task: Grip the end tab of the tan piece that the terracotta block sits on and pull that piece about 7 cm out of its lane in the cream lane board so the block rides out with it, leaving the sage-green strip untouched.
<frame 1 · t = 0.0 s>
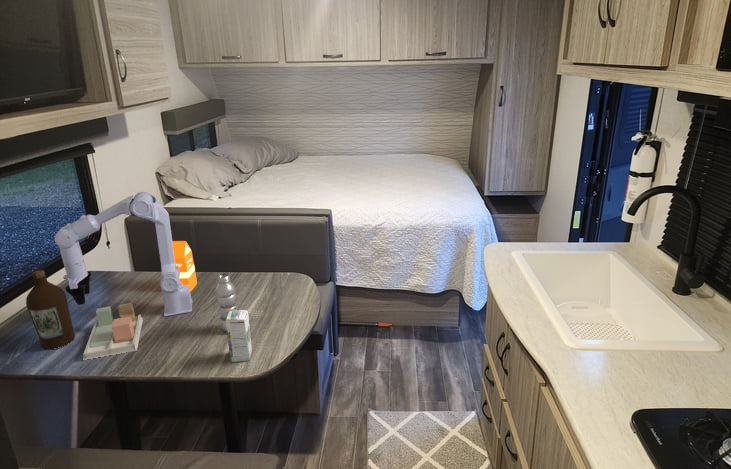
hand: (83, 298, 161), 10 cm above the table, tool pointing down, fingers open, 7 cm apart
syrup box: (242, 356, 145), on the table
lane board: (115, 338, 156), on the table
strip B: (102, 326, 155), point 4 cm above the table, slide at 0.0 cm
plastic bottle: (231, 329, 159), on the table
block: (124, 335, 154), point 2 cm above the table, touching tan piece
orange juice: (183, 288, 189), on the table
tan piece: (124, 322, 157), point 4 cm above the table, slide at 0.0 cm, touching block
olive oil: (58, 342, 155), on the table
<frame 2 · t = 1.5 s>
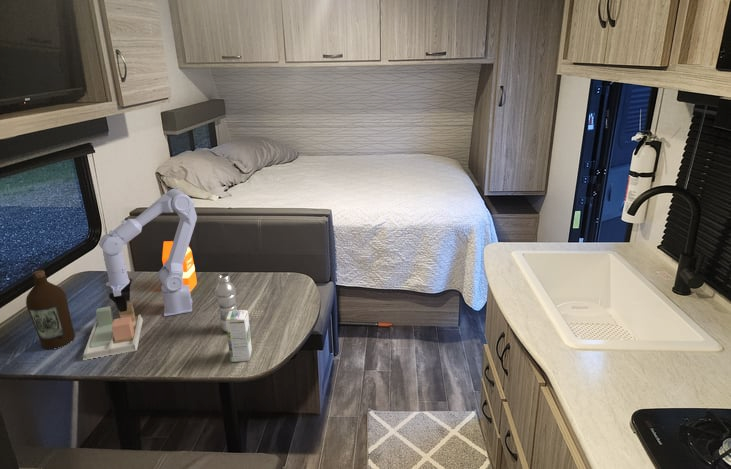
hand: (124, 305, 161), 7 cm above the table, tool pointing down, fingers open, 7 cm apart
nothing on the table moved.
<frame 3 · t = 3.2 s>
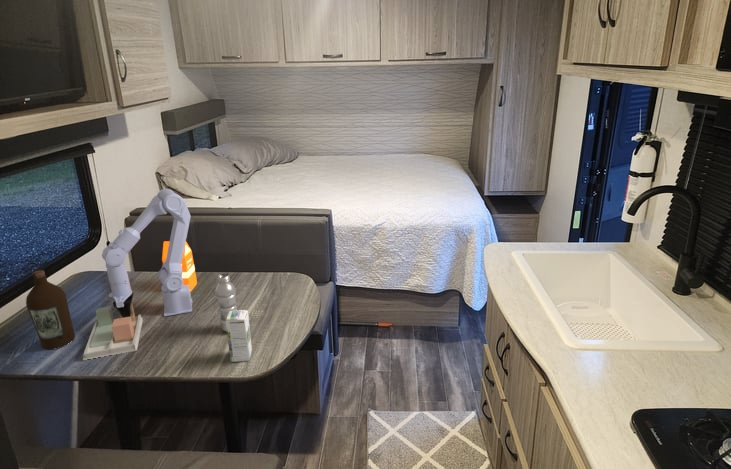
hand: (127, 316, 163), 3 cm above the table, tool pointing down, fingers closed on tan piece, 3 cm apart
tan piece: (124, 322, 157), point 4 cm above the table, slide at 0.0 cm, touching block, gripper
everything else where it was.
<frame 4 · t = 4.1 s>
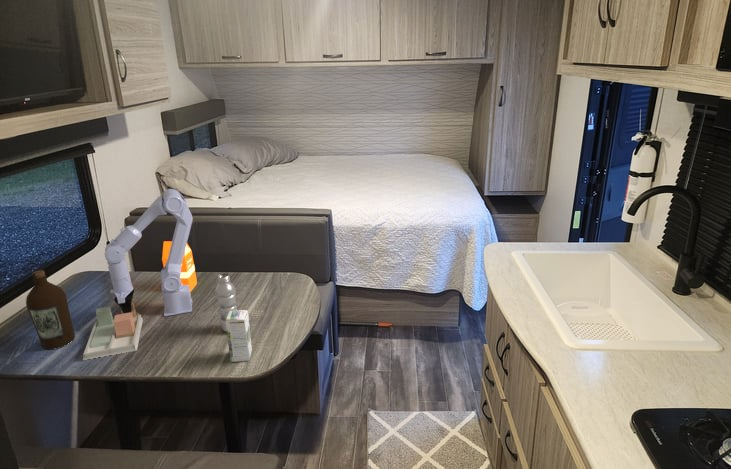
hand: (128, 312, 165), 3 cm above the table, tool pointing down, fingers closed on tan piece, 3 cm apart
block: (125, 330, 157), point 2 cm above the table, touching tan piece
tan piece: (126, 317, 160), point 4 cm above the table, slide at 3.0 cm, touching block, gripper
everything else where it was.
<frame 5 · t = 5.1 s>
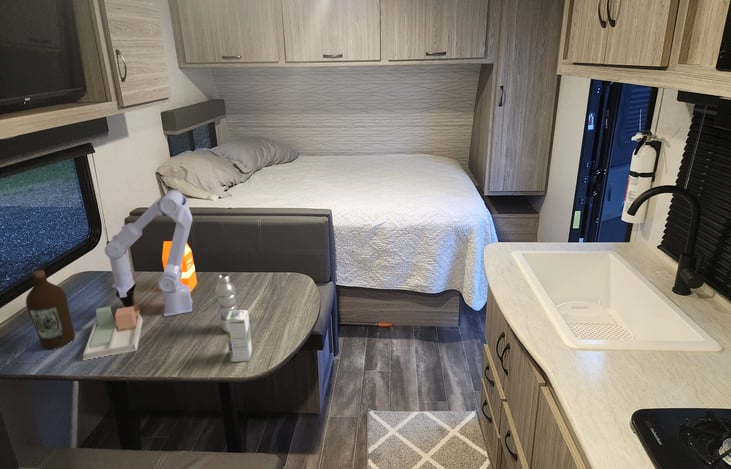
hand: (130, 306, 169), 3 cm above the table, tool pointing down, fingers closed on tan piece, 3 cm apart
block: (127, 323, 161), point 2 cm above the table, touching tan piece
tan piece: (127, 311, 164), point 4 cm above the table, slide at 7.3 cm, touching block, gripper
everything else where it was.
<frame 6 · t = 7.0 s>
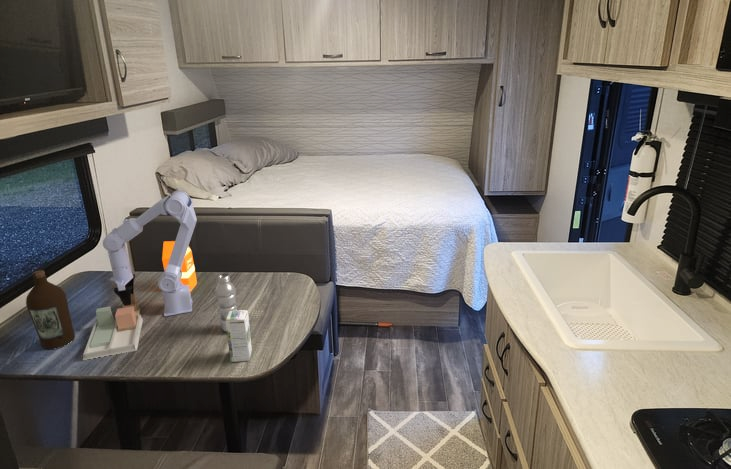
hand: (129, 300, 168), 6 cm above the table, tool pointing down, fingers open, 7 cm apart
tan piece: (127, 311, 164), point 4 cm above the table, slide at 7.3 cm, touching block
everything else where it was.
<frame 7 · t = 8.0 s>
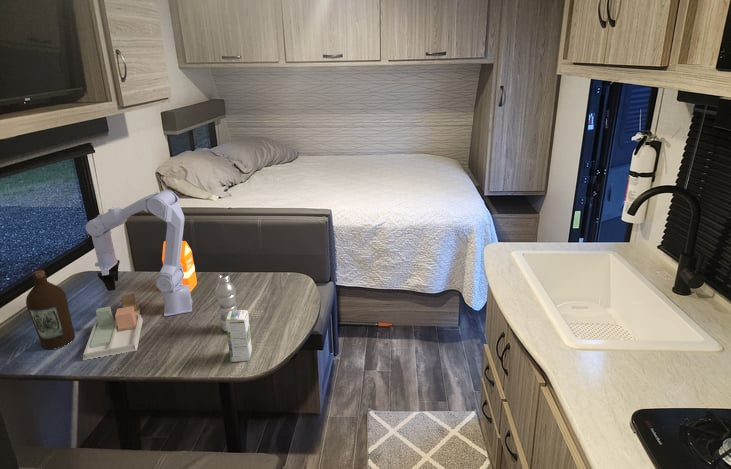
hand: (113, 285, 170), 10 cm above the table, tool pointing down, fingers open, 7 cm apart
nothing on the table moved.
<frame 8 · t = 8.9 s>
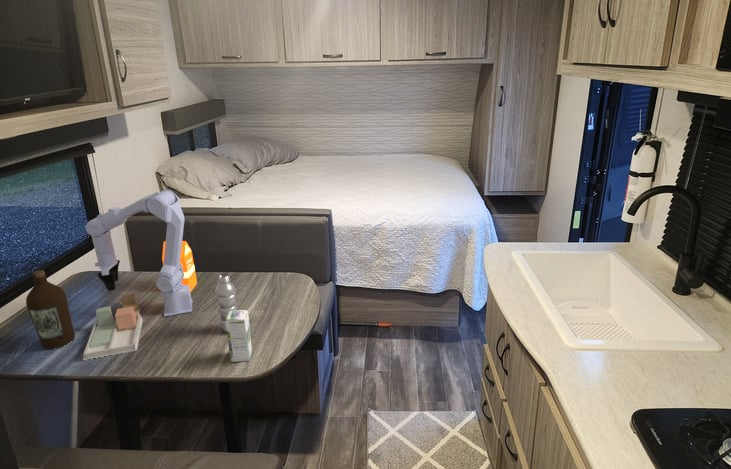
hand: (113, 285, 170), 10 cm above the table, tool pointing down, fingers open, 7 cm apart
nothing on the table moved.
at the end: tan piece slide at 7.3 cm; block inside the target area (1.0 cm from its centre), point 1.8 cm above the table; strip B slide at 0.0 cm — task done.
